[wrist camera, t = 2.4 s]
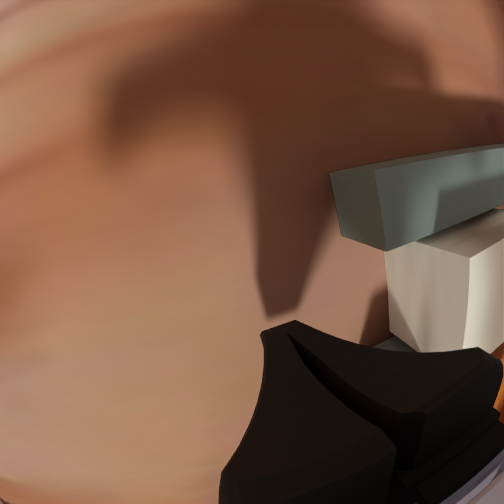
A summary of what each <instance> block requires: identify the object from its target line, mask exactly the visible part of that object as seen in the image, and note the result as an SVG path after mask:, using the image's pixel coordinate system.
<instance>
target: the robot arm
mask: <svg viewBox="0 0 504 504" xmlns="http://www.w3.org/2000/svg"><path fill="white" fill-rule="evenodd" d="M260 337H261V340H262V344H263V347H264V368H263V377H262V384H261V389H260V393H259V397H258V401H257V404H256V407H255V410H254V413H253V416H252V419H251V421H250V424H249V426H248V428H247V430H246V432H245V434H244V436H243V438H242V440H241V442H240V444H239V446H238V448H237V450H236V451H235V453H234V454H233V456H232V457H231V459H230V460H229V462H228V463H227V465H226V466H225V468H224V469H223V471H222V473H221V479H220V486H219V504H504V424H503V423H501V422H500V421H499V420H498V419H499V417H500V412H499V411H497V410H496V409H495V408H493V406H494V403H495V400H496V397H497V395H498V392H499V389H500V386H501V382H502V378H503V364H502V362H501V361H500V360H499V359H497V358H496V357H494V356H492V355H491V354H489V353H488V352H486V351H484V350H483V349H481V348H479V347H473V348H467V349H460V350H453V351H445V352H403V351H392V350H384V349H379V348H373V347H368V346H364V345H360V344H356V343H353V342H349V341H346V340H343V339H340V338H337V337H334V336H332V335H329V334H327V333H324V332H322V331H319V330H317V329H315V328H312V327H310V326H308V325H306V324H303V323H301V322H299V321H297V320H293V321H291V322H288V323H285V324H282V325H279V326H276V327H273V328H270V329H267V330H264V331H262V332H261V334H260Z"/></svg>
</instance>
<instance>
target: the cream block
mask: <svg viewBox="0 0 504 504" xmlns="http://www.w3.org/2000/svg"><path fill="white" fill-rule="evenodd" d="M384 256H385V265H386V276H387V289H388V304H389V327H390V332H392V333H393V334H394V335H396V336H397V337H398V338H400V339H401V340H402V341H404V342H405V343H406V344H408V345H409V346H410V347H412V348H413V349H414V350H416V351H417V352H445V351H453V350H460V349H467V348H473V347H479V348H481V349H483V350H484V351H486V352H488V353H489V354H491V353H492V352H493V351H494V350H495V349H496V348H497V347H498V346H500V345H501V344H502V343H503V342H504V210H502V209H496V208H493V209H491V210H488V211H486V212H484V213H482V214H479V215H477V216H475V217H472V218H470V219H467V220H465V221H463V222H460V223H458V224H456V225H453V226H451V227H448V228H446V229H443V230H441V231H439V232H436V233H434V234H431V235H429V236H426V237H424V238H421V239H419V240H416V241H413V242H411V243H408V244H406V245H403V246H401V247H398V248H395V249H393V250H390V251H388V252H385V251H384Z"/></svg>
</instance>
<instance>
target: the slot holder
mask: <svg viewBox="0 0 504 504" xmlns="http://www.w3.org/2000/svg"><path fill="white" fill-rule="evenodd" d="M329 176H330V180H331V185H332V190H333V194H334V199H335V204H336V209H337V215H338V220H339V225H340V231H341V236H343V237H346V238H349V239H352V240H355V241H358V242H360V243H363V244H366V245H369V246H372V247H374V248H377V249H380V250H383V251H385V252H388V251H390V250H393V249H395V248H398V247H401V246H403V245H406V244H408V243H411V242H413V241H416V240H419V239H421V238H424V237H426V236H429V235H431V234H434V233H436V232H439V231H441V230H443V229H446V228H448V227H451V226H453V225H456V224H458V223H460V222H463V221H465V220H467V219H470V218H472V217H475V216H477V215H479V214H482V213H484V212H486V211H488V210H491V209H493V208H495V207H497V206H500V205H502V204H504V143H501V144H492V145H484V146H476V147H469V148H461V149H454V150H448V151H441V152H435V153H428V154H422V155H416V156H411V157H405V158H399V159H394V160H388V161H383V162H378V163H373V164H368V165H363V166H358V167H353V168H348V169H344V170H339V171H334V172H330V173H329ZM373 348H379V349H384V350H392V351H403V352H417V351H416V350H414V349H413V348H412V347H410V346H409V345H408V344H406V343H405V342H404V341H402V340H401V339H400V338H398V337H397V336H396V335H395V336H393V337H391V338H389V339H388V340H386V341H383V342H381V343H379V344H377V345H375V346H373Z"/></svg>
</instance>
